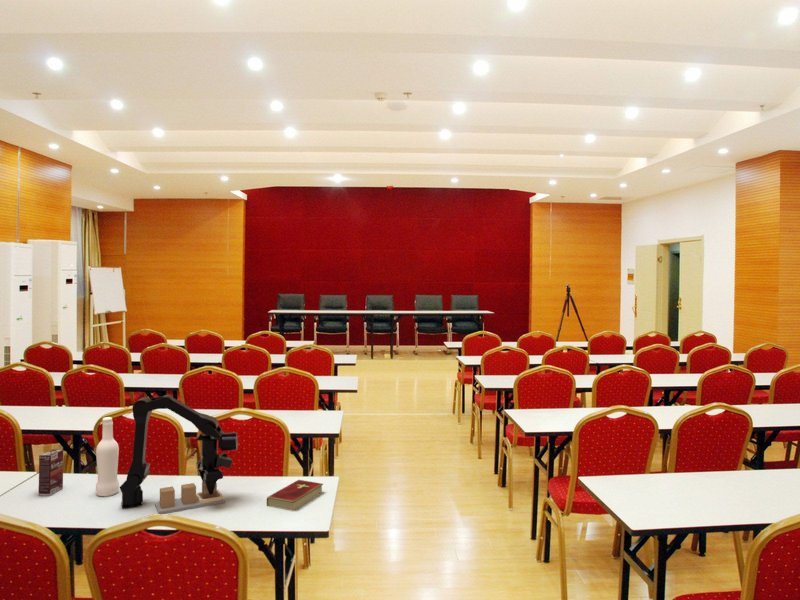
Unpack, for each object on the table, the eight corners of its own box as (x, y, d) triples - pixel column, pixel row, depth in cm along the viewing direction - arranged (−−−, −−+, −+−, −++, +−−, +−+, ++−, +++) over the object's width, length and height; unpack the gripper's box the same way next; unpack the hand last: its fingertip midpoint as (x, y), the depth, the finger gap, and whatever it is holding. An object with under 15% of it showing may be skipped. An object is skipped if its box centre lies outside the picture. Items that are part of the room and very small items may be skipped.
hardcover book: (266, 507, 209) (266, 496, 209) (297, 489, 228) (297, 478, 228) (293, 512, 204) (293, 501, 204) (323, 493, 223) (323, 482, 223)
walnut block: (216, 498, 212) (216, 483, 212) (204, 500, 210) (204, 485, 210) (213, 495, 216) (214, 479, 216) (201, 497, 214) (202, 481, 214)
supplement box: (50, 496, 215) (50, 455, 215) (37, 496, 215) (37, 455, 215) (64, 488, 224) (64, 449, 224) (52, 488, 224) (52, 449, 224)
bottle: (123, 490, 223) (123, 415, 222) (110, 497, 215) (111, 420, 214) (104, 489, 224) (104, 414, 223) (91, 496, 216) (91, 419, 215)
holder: (158, 514, 199) (158, 495, 199) (155, 505, 208) (155, 486, 208) (224, 502, 211) (224, 484, 211) (218, 494, 220) (218, 476, 220)
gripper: (237, 454, 209) (236, 495, 209) (224, 442, 225) (224, 480, 225) (206, 458, 203) (206, 501, 203) (196, 446, 219) (195, 485, 219)
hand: (209, 491), depth 213 cm, fingers open, 6 cm apart
